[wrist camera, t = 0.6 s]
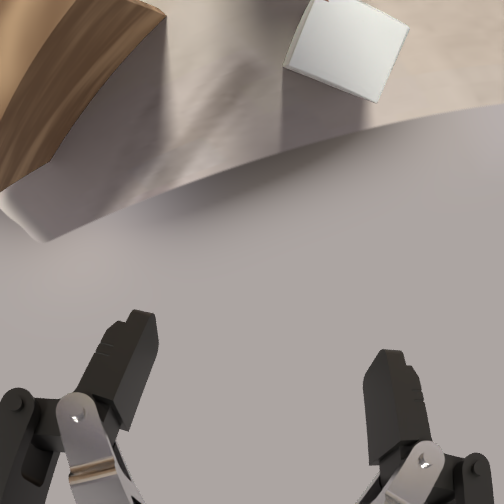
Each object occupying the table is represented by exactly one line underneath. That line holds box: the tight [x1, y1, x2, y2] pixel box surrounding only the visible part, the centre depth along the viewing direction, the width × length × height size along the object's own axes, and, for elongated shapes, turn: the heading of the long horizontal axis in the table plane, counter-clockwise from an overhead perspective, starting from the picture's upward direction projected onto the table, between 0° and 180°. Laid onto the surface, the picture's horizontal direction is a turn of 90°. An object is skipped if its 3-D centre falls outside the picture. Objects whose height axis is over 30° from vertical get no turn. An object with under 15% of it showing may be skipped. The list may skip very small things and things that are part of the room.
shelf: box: [0, 0, 166, 192], centre depth 22 cm, size 16×25×17 cm, turn 131°
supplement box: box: [283, 0, 410, 103], centre depth 23 cm, size 7×7×13 cm
